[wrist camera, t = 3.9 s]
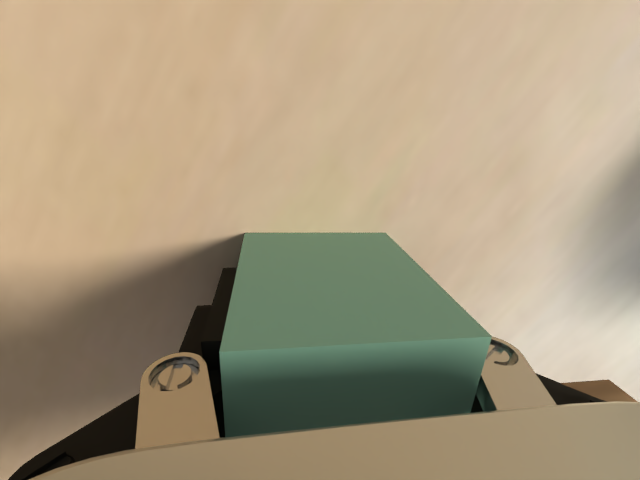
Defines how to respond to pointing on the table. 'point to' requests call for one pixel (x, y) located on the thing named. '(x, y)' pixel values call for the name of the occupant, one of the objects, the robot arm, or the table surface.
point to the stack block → (341, 336)
